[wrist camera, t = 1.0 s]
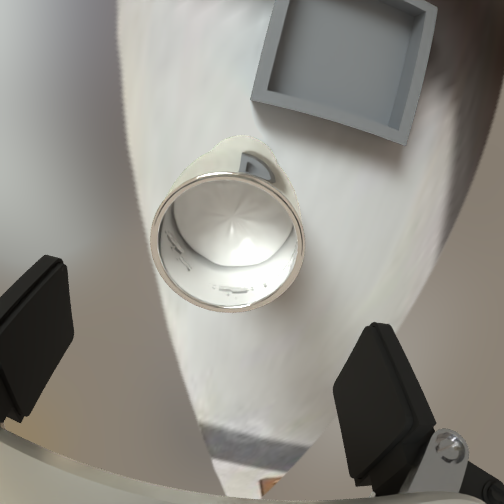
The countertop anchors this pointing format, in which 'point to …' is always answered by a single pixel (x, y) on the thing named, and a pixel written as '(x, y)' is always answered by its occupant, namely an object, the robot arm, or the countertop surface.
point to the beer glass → (230, 229)
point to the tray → (348, 61)
